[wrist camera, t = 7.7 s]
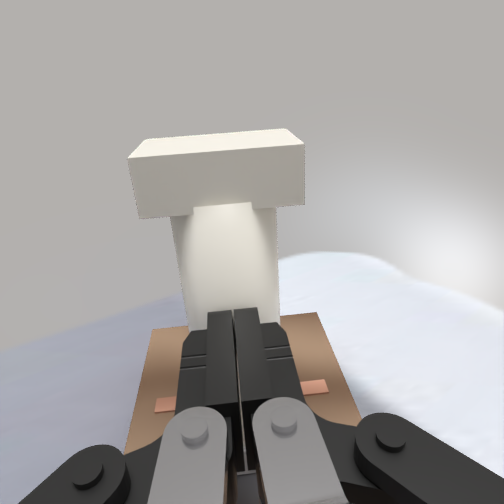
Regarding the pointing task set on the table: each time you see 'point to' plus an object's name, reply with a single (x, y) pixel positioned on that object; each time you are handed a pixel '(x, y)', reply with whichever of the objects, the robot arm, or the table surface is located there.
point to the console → (308, 368)
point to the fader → (222, 215)
